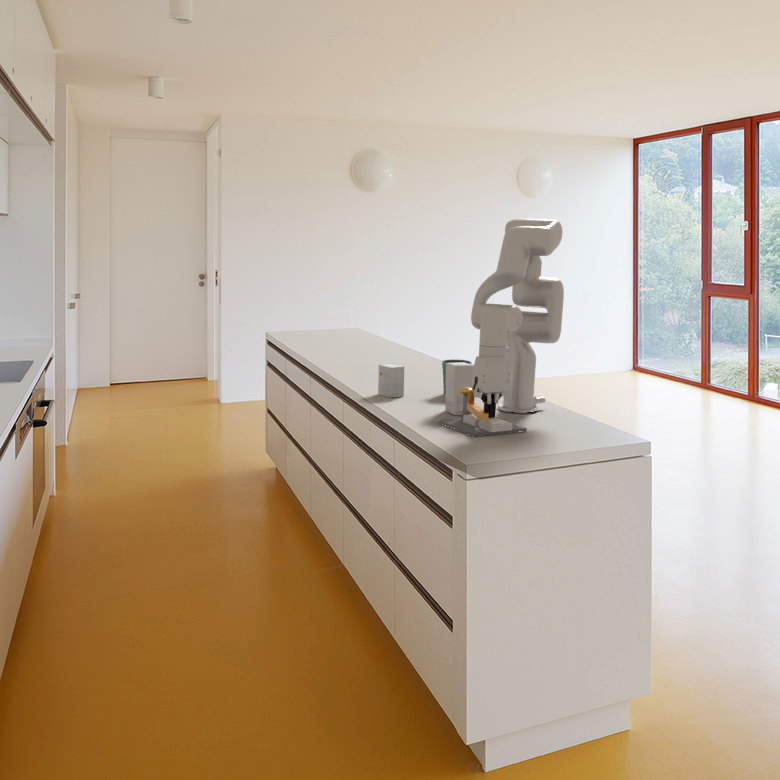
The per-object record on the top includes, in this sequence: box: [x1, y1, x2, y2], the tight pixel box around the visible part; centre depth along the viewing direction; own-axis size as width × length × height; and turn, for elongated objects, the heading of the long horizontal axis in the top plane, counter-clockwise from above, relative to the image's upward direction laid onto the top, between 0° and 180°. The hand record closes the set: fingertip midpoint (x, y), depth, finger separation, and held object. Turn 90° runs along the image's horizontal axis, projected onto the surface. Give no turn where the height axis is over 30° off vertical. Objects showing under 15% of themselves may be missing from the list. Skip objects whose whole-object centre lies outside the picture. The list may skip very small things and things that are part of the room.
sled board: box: [438, 394, 527, 438], centre depth 222 cm, size 18×18×8 cm
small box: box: [377, 363, 405, 399], centre depth 267 cm, size 8×6×10 cm
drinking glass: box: [441, 359, 472, 396], centre depth 271 cm, size 10×10×12 cm
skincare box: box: [444, 362, 474, 416], centre depth 241 cm, size 8×7×16 cm
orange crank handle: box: [460, 387, 488, 421], centre depth 220 cm, size 21×5×6 cm, turn 8°
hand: (489, 416), depth 217 cm, fingers closed
